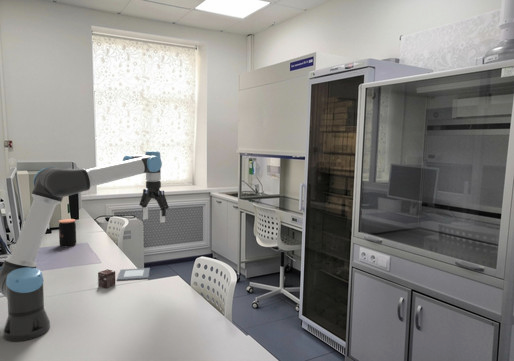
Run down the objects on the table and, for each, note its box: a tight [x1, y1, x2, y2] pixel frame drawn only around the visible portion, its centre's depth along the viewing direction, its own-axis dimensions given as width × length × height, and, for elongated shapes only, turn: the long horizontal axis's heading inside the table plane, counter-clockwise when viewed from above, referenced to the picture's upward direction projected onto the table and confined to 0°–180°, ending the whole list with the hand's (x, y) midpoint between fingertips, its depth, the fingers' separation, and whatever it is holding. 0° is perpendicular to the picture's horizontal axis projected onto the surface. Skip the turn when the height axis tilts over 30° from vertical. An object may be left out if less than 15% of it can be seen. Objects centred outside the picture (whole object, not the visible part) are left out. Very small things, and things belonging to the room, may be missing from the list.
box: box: [97, 269, 116, 289], centre depth 190 cm, size 6×6×7 cm
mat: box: [116, 267, 151, 282], centre depth 207 cm, size 16×16×1 cm
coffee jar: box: [58, 218, 77, 247], centre depth 265 cm, size 11×11×18 cm
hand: (153, 220), depth 197 cm, fingers open, 13 cm apart
